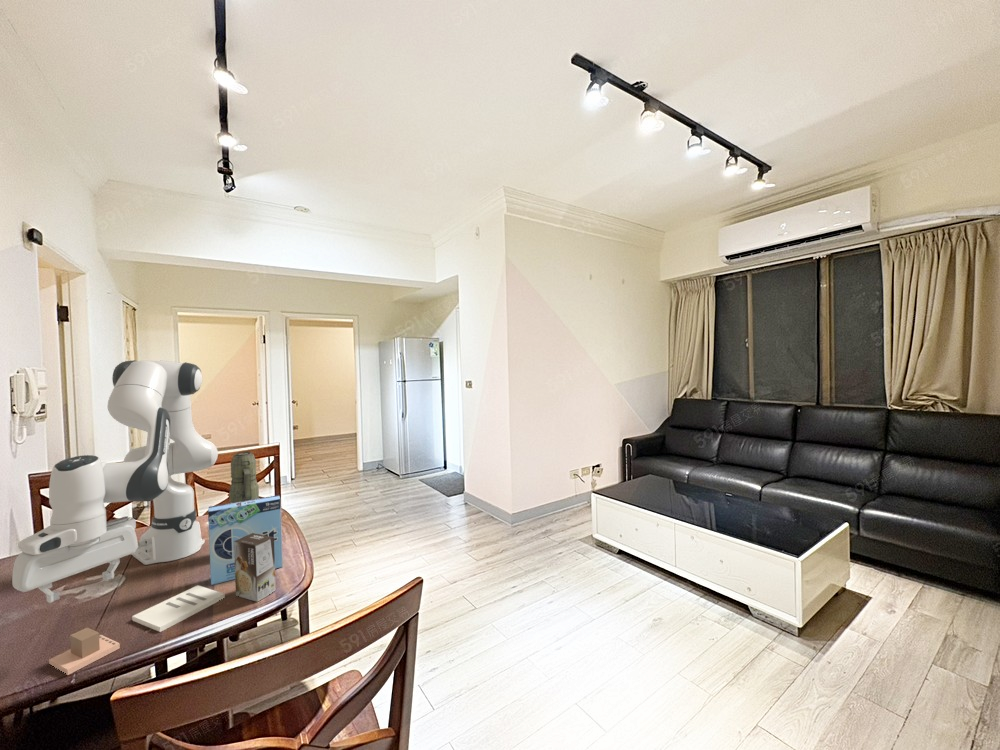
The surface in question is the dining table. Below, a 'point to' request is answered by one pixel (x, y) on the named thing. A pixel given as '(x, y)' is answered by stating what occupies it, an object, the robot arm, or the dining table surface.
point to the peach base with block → (83, 650)
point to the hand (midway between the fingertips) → (82, 589)
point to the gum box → (241, 532)
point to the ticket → (177, 608)
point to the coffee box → (254, 566)
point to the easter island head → (243, 478)
